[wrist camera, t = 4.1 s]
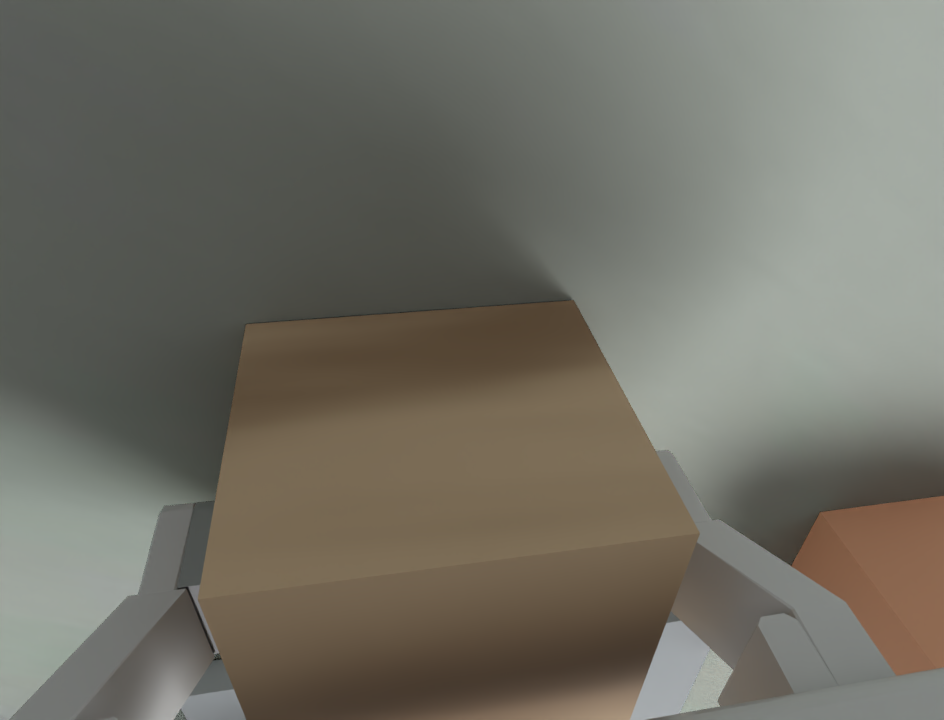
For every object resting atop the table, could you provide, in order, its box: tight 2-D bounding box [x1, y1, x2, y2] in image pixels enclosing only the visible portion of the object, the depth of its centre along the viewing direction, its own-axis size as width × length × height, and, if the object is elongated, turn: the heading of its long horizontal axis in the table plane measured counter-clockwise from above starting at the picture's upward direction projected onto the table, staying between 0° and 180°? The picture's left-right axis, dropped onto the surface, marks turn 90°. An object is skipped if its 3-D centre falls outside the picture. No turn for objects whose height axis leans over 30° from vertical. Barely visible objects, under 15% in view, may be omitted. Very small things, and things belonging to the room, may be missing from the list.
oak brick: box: [198, 300, 700, 720], centre depth 11 cm, size 6×6×5 cm
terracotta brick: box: [791, 496, 944, 676], centre depth 17 cm, size 6×6×5 cm
